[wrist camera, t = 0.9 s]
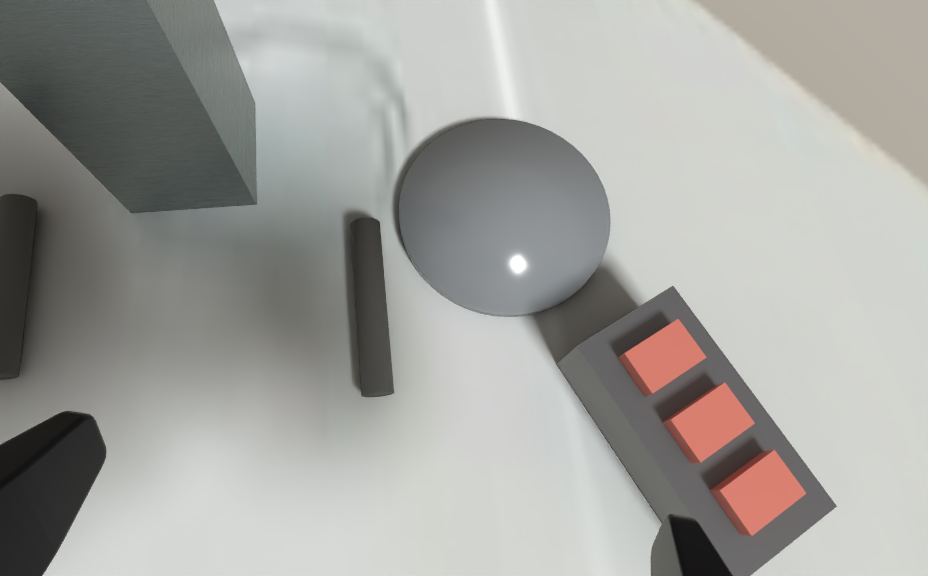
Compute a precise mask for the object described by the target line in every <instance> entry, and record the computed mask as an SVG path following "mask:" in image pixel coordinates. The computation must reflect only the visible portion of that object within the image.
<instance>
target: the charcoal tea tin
mask: <svg viewBox="0 0 928 576" xmlns="http://www.w3.org/2000/svg"><path fill="white" fill-rule="evenodd" d="M0 82H1V83H2V84H3V85H4V86H5V87H6V88H7V89H8V90H9V91H10V92H11V93H12V94H13V95H14V96H15V97H16V98H17V99H18V100H19V101H20V102H21V103H22V104H23V105H24V106H25V107H26V108H27V109H28V110H29V111H30V112H31V113H32V114H33V115H34V116H35V117H36V118H37V119H38V120H39V121H40V122H41V123H42V124H43V125H44V126H45V127H46V128H47V129H48V130H49V131H50V132H51V133H52V134H53V135H54V136H55V137H56V138H57V139H58V140H59V141H60V142H61V143H62V144H63V145H64V146H65V147H66V148H67V149H68V150H69V151H70V152H71V153H72V154H73V155H74V156H75V157H76V158H77V159H78V160H79V161H80V162H81V163H82V164H83V165H84V166H85V167H86V168H87V169H88V170H89V171H90V172H91V173H92V174H93V175H94V176H95V177H96V178H97V179H98V180H99V181H100V182H101V183H102V184H103V185H104V186H105V187H106V188H107V189H108V190H109V191H110V192H111V193H112V194H113V195H114V196H115V197H116V198H117V199H118V200H119V201H120V202H121V203H122V204H123V205H124V206H125V207H126V208H127V209H128V210H129V211H130V212H131V213H141V212H155V211H169V210H183V209H197V208H212V207H226V206H240V205H254V204H257V192H256V127H255V102H254V99H253V97H252V94H251V92H250V89H249V87H248V84H247V82H246V79H245V77H244V74H243V72H242V69H241V67H240V64H239V62H238V59H237V57H236V55H235V52H234V50H233V47H232V45H231V42H230V40H229V37H228V35H227V32H226V30H225V27H224V25H223V22H222V20H221V17H220V15H219V12H218V10H217V7H216V5H215V2H214V0H0Z"/></svg>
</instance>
